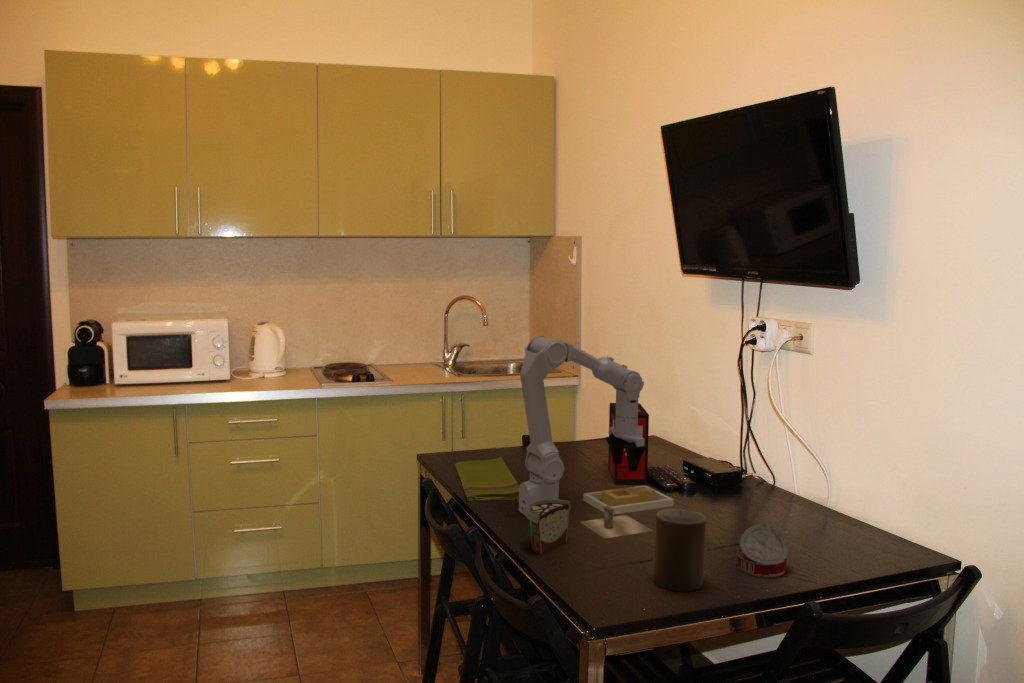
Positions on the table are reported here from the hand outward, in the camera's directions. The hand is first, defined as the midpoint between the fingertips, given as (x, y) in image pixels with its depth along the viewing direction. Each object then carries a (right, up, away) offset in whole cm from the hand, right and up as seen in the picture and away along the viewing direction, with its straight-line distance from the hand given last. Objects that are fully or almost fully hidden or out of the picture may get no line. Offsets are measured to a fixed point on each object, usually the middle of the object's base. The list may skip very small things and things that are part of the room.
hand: (625, 467), depth 215 cm
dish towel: (-36, -8, +19) cm, 41 cm away
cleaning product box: (+4, -7, +25) cm, 26 cm away
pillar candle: (+4, -16, -49) cm, 52 cm away
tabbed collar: (+1, -9, -1) cm, 9 cm away
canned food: (+23, -15, -42) cm, 50 cm away
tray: (0, -10, -2) cm, 10 cm away
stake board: (-5, -12, -19) cm, 23 cm away
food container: (-22, -13, -31) cm, 41 cm away
